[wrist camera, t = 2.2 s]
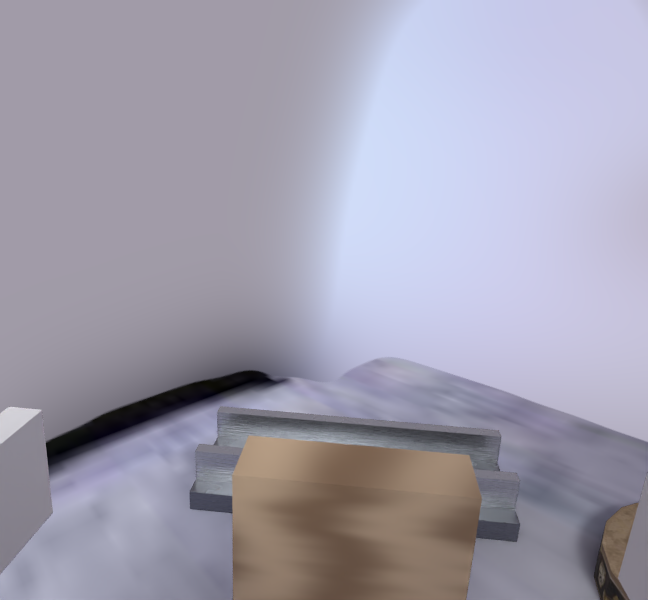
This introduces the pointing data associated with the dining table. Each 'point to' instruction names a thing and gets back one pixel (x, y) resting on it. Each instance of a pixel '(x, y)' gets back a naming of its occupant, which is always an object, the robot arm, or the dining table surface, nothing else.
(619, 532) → the wood log slice
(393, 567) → the door
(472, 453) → the track
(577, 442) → the dining table surface
